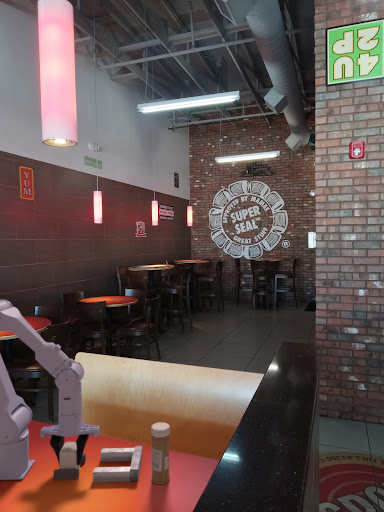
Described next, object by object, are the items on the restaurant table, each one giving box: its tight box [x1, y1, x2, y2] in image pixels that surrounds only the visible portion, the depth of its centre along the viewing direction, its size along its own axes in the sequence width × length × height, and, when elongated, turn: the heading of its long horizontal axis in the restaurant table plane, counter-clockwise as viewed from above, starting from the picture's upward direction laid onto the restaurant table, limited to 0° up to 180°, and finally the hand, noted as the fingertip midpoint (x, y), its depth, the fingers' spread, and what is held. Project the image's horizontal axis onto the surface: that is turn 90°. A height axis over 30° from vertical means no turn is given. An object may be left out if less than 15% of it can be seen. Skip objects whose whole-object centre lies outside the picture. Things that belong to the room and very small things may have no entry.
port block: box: [92, 445, 143, 483], centre depth 96 cm, size 11×11×3 cm
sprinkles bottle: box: [150, 421, 171, 485], centre depth 92 cm, size 5×5×14 cm
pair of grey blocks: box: [53, 453, 87, 481], centre depth 96 cm, size 6×8×2 cm
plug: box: [59, 441, 82, 470], centre depth 96 cm, size 4×5×6 cm
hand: (70, 463), depth 96 cm, fingers closed on plug, 4 cm apart
